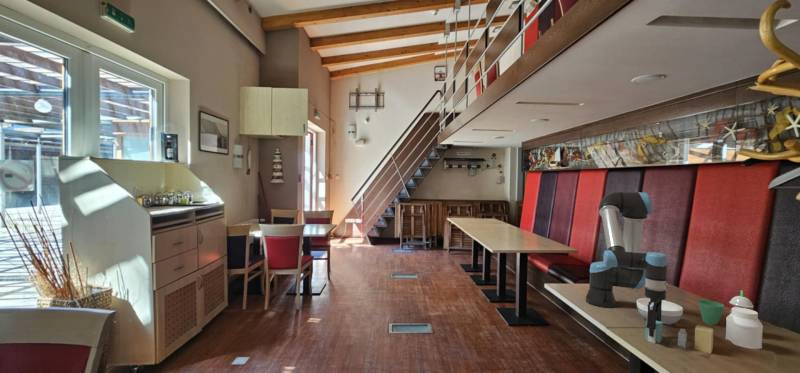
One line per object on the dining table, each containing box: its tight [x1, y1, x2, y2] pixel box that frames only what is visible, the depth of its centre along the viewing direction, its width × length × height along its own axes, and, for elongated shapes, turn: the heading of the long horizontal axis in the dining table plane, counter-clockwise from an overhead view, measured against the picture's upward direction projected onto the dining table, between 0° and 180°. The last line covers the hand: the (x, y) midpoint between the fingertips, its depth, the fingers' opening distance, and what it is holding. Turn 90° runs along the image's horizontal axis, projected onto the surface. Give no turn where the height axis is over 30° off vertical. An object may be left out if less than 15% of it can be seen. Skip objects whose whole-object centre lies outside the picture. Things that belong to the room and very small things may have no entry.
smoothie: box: [728, 289, 754, 315], centre depth 169 cm, size 8×8×20 cm
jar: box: [725, 307, 764, 350], centre depth 156 cm, size 12×10×15 cm
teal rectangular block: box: [644, 320, 664, 344], centre depth 158 cm, size 5×5×9 cm
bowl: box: [636, 297, 684, 326], centre depth 181 cm, size 19×19×9 cm
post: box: [677, 328, 688, 349], centre depth 151 cm, size 3×3×8 cm
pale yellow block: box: [694, 324, 714, 354], centre depth 150 cm, size 5×5×9 cm
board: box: [668, 337, 714, 359], centre depth 151 cm, size 13×12×1 cm
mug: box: [697, 298, 725, 326], centre depth 182 cm, size 15×10×10 cm
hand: (653, 340), depth 158 cm, fingers open, 7 cm apart
